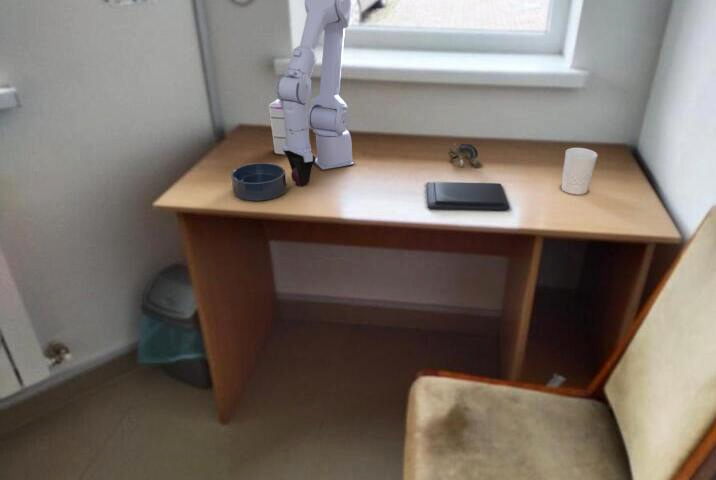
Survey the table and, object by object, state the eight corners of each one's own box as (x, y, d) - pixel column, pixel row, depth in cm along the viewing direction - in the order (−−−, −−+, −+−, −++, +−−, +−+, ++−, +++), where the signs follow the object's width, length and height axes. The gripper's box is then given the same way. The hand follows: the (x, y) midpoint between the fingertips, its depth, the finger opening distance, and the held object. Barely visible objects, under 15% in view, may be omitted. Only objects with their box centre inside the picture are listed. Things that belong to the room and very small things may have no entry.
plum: (307, 179, 148) (305, 159, 145) (313, 185, 145) (312, 165, 142) (289, 182, 146) (287, 162, 143) (295, 189, 143) (293, 168, 140)
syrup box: (292, 155, 162) (288, 105, 154) (273, 153, 163) (268, 103, 155) (300, 148, 167) (295, 99, 159) (281, 147, 167) (276, 98, 159)
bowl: (277, 177, 148) (275, 159, 146) (293, 196, 139) (292, 177, 136) (228, 186, 143) (225, 168, 140) (241, 206, 134) (238, 187, 131)
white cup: (572, 197, 143) (580, 160, 137) (552, 186, 149) (559, 150, 143) (595, 192, 146) (604, 156, 141) (575, 181, 152) (582, 145, 146)
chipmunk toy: (446, 165, 156) (477, 163, 153) (446, 139, 156) (478, 137, 153) (452, 170, 163) (482, 169, 161) (452, 146, 163) (483, 144, 161)
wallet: (427, 202, 134) (427, 177, 147) (427, 209, 135) (426, 183, 148) (510, 205, 134) (503, 179, 147) (509, 212, 135) (502, 186, 148)
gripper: (271, 121, 141) (277, 171, 148) (290, 138, 130) (295, 192, 138) (298, 117, 144) (302, 167, 151) (319, 134, 133) (322, 187, 141)
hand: (301, 179), depth 145 cm, fingers closed on plum, 5 cm apart
